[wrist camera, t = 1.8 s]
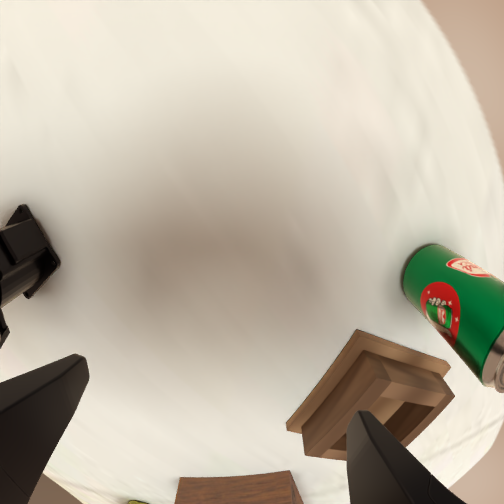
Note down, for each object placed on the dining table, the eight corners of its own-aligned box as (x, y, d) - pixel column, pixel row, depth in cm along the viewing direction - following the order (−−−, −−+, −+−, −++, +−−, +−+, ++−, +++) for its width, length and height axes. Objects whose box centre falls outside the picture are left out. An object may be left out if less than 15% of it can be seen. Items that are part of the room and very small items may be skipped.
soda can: (460, 260, 20) (560, 329, 8) (428, 311, 21) (509, 403, 10) (422, 230, 19) (539, 298, 8) (388, 287, 21) (475, 392, 9)
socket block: (286, 423, 25) (288, 458, 21) (356, 329, 22) (374, 363, 17) (377, 439, 26) (387, 468, 22) (446, 361, 23) (467, 388, 18)
